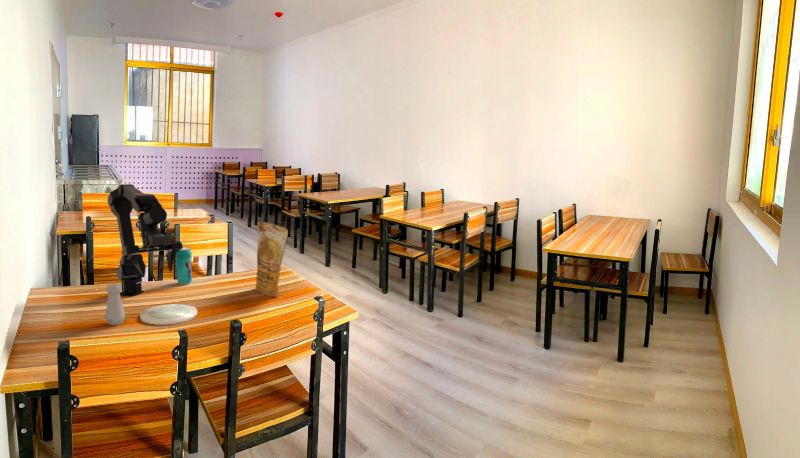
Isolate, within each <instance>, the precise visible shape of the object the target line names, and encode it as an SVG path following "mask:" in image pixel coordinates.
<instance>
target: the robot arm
mask: <svg viewBox="0 0 800 458" xmlns="http://www.w3.org/2000/svg"><path fill="white" fill-rule="evenodd" d="M107 205H108V207H109V209H110V212H111V213H112V214H113V215H114V216H115V218H116V221H117V226H118V232H119V238H120V239H119V240H120V244H121V258H120V260H119V265H118V268H117V270H116V277H117V279H118V280H120V282H121V287H122V290H121V292H119V293H120V296H121V295H123V296H128V297H129V296H130V297H134V296H136V295H140V294H142V293H145V290H142V280H141V278H145V275H146V267H147V266H146V264H145V261H144V257H143V255H142V254H143V253H151V252H153V253H154V252H160V251H161V252H162V251H166V253H165V257H166V261H167V262H166V263H167V267H168V272H169V273H170V272H171V273H172V271H173V265H174V261H175V256H176V253H177V252H179V250H181V249H182V248H183V247H184V246H183V243H182V242H181V241H180V240H177V241H176V240H175V241H173V237H172V232H171V231H164V232H163V233H161V230H160V229H159V225H161V224H162V223H163V222H165V221H166V219H167V218H168V213H167V211H166V210H165V208H163V205H162V204H161V202H160V201H159V200H158V198H157V197H156V196H155V195H154V194H152V193H146V192H145V193H144V192H142V191H141V190H140V189H139V188H136V187H135V185H134V184H131V183H128V184H127V183H126V184H119V185H118V186H117V188H115V189H114V190H112V191H110V192H109V194H108V196H107ZM133 209H134V211H135V212H136V213H139V215H138V216H137V221H138V224H139V229H140V235H139V236H140V238H141V242H142V247H139V245H137V244H136V243H135V242H136V241H135V236H134V230H133V223H132V218H131V214H132V211H133Z"/></svg>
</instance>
